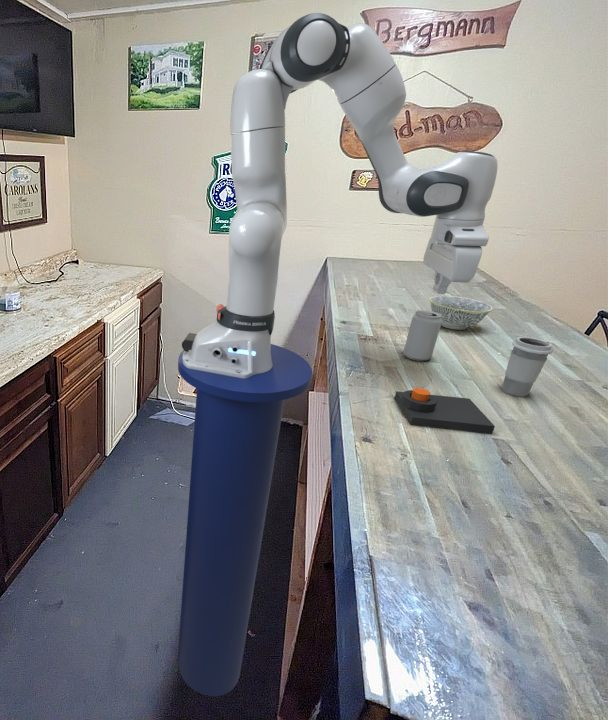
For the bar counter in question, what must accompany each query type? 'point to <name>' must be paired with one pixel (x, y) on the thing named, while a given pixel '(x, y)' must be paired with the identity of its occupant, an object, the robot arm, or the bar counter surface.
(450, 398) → the black flat block
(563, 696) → the bar counter surface
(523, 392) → the cup
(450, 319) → the bowl
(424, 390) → the tare button
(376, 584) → the bar counter surface
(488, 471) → the bar counter surface
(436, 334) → the beverage can
